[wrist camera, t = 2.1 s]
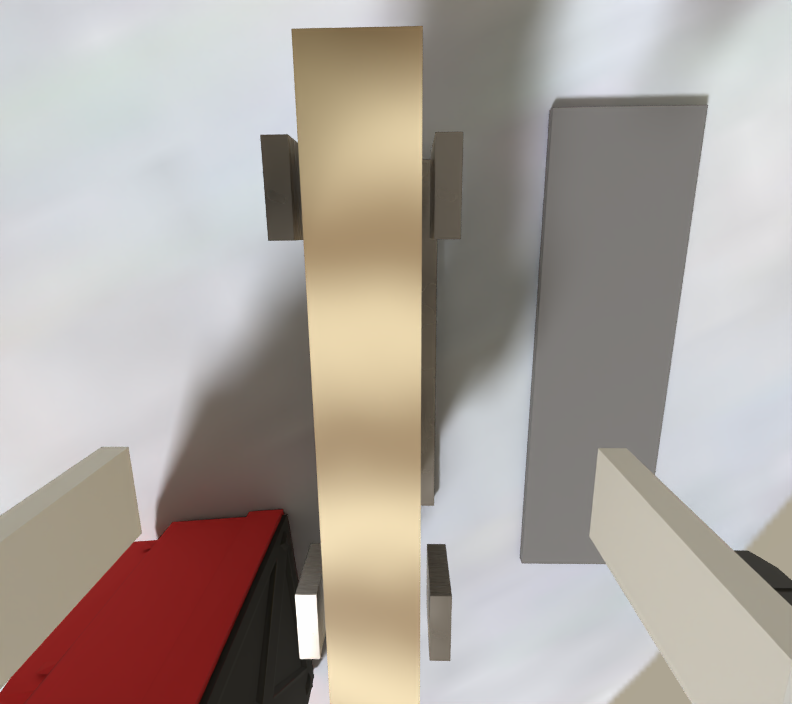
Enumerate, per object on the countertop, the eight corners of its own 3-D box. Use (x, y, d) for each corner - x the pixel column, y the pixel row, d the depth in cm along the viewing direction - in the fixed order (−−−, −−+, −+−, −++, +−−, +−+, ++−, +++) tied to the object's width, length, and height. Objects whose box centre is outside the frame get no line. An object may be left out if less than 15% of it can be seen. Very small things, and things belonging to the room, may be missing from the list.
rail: (316, 72, 16) (291, 28, 12) (419, 70, 16) (422, 26, 12) (342, 645, 22) (331, 721, 18) (417, 646, 22) (419, 722, 18)
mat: (549, 110, 25) (553, 107, 24) (700, 108, 25) (708, 104, 24) (519, 557, 32) (521, 563, 31) (637, 558, 32) (641, 564, 31)
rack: (329, 162, 26) (255, 96, 13) (437, 161, 26) (465, 93, 13) (343, 498, 31) (300, 679, 18) (433, 498, 31) (450, 681, 18)
